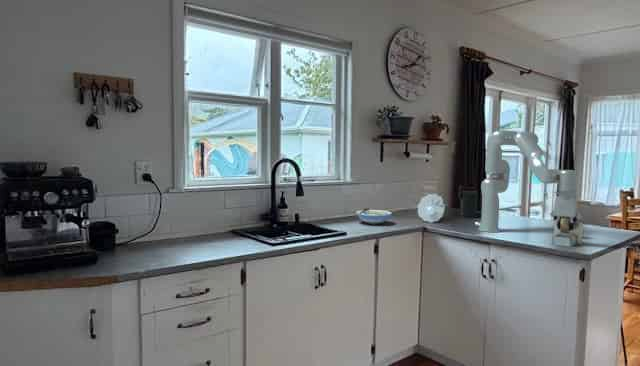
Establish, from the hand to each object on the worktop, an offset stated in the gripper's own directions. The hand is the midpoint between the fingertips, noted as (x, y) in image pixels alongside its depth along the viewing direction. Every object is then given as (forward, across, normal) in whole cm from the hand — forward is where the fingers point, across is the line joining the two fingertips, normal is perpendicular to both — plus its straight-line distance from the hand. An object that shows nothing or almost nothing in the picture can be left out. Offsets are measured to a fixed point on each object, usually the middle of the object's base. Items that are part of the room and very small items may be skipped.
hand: (565, 229), depth 216 cm
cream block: (+8, 0, +1) cm, 8 cm away
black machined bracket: (+7, -77, +52) cm, 94 cm away
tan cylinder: (+2, 0, 0) cm, 2 cm away
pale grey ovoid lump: (+7, -85, +16) cm, 87 cm away
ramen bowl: (+7, -104, -24) cm, 107 cm away
